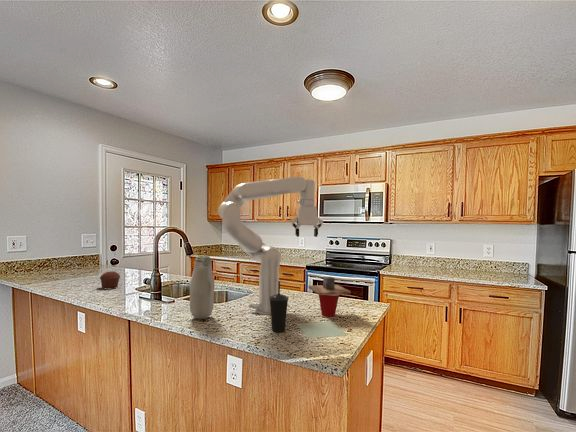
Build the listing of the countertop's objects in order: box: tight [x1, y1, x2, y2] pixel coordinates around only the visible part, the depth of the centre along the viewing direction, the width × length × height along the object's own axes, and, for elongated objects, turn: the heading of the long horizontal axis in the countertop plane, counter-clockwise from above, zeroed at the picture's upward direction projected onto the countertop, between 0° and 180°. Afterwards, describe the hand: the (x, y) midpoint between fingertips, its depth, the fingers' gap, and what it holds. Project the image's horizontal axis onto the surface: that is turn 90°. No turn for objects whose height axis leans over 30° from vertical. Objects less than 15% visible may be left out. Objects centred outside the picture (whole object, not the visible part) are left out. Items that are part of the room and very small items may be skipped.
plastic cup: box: [318, 294, 341, 318], centre depth 138 cm, size 11×11×12 cm
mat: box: [296, 320, 349, 339], centre depth 119 cm, size 16×16×1 cm
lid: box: [307, 276, 351, 296], centre depth 138 cm, size 15×15×6 cm
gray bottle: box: [189, 254, 215, 320], centre depth 133 cm, size 10×10×28 cm
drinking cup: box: [269, 280, 289, 334], centre depth 117 cm, size 8×8×20 cm
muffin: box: [99, 270, 121, 289], centre depth 191 cm, size 12×11×10 cm
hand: (306, 236), depth 153 cm, fingers open, 9 cm apart
